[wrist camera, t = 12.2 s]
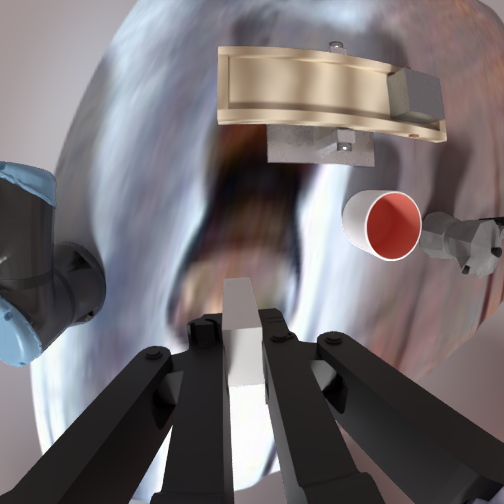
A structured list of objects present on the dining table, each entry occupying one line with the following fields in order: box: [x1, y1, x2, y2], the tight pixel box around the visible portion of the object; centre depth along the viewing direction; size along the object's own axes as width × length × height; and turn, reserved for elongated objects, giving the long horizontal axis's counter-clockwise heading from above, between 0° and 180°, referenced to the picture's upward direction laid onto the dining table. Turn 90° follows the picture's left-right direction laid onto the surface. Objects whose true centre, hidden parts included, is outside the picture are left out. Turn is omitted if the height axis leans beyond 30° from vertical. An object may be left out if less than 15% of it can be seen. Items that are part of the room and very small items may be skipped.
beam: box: [218, 46, 447, 143], centre depth 32 cm, size 32×11×4 cm, turn 91°
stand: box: [266, 41, 375, 167], centre depth 38 cm, size 18×18×11 cm
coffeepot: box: [419, 211, 504, 278], centre depth 40 cm, size 15×9×18 cm, turn 124°
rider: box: [386, 68, 445, 125], centre depth 30 cm, size 6×6×5 cm
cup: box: [342, 190, 422, 261], centre depth 42 cm, size 10×10×10 cm
